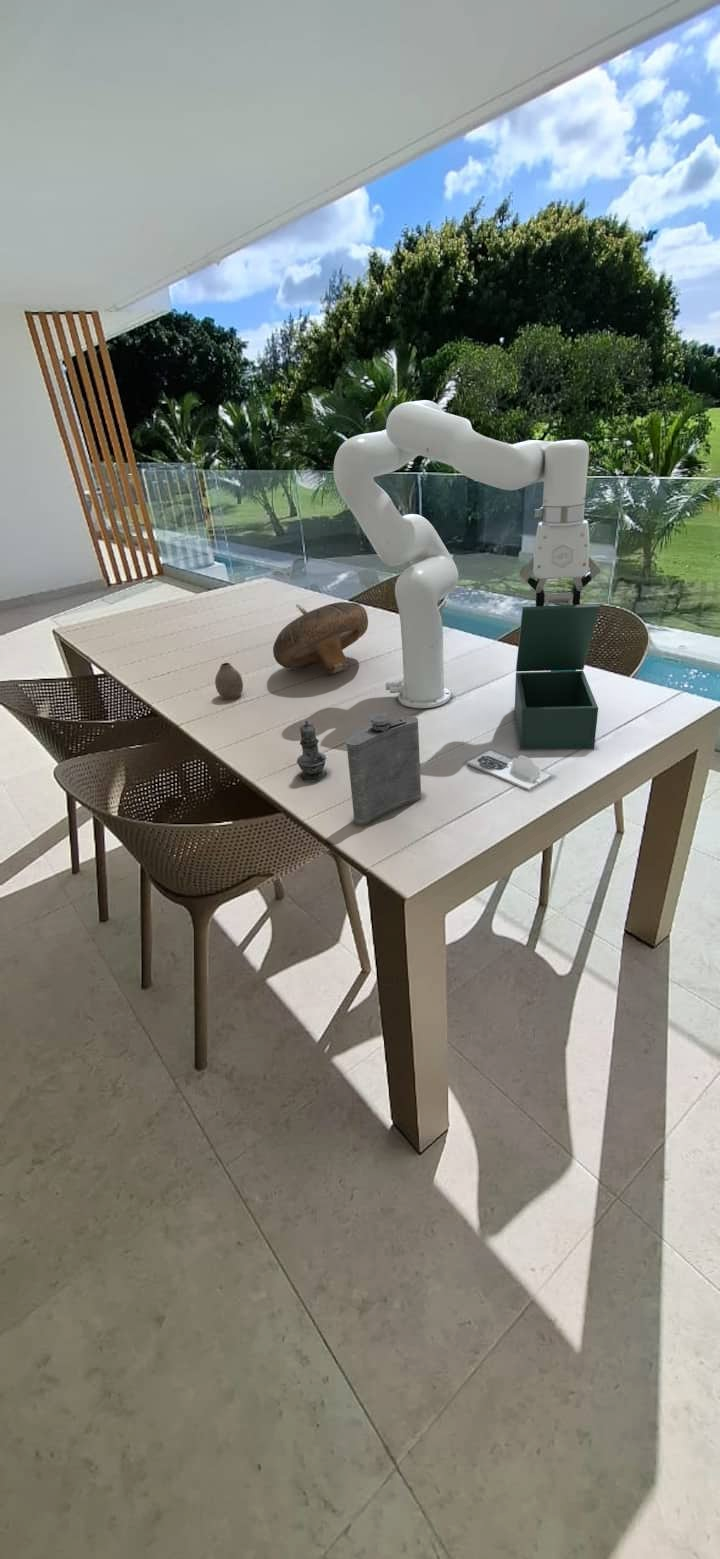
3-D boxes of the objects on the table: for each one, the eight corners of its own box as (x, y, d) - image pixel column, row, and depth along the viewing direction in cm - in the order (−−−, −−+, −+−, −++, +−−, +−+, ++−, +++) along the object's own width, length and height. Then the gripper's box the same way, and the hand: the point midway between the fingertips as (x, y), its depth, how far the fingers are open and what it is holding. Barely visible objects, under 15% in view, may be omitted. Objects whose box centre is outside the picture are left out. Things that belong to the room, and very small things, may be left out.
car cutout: (551, 777, 125) (552, 756, 123) (528, 790, 122) (530, 769, 119) (489, 752, 135) (490, 732, 133) (467, 764, 132) (467, 743, 130)
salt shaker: (298, 769, 136) (291, 715, 130) (327, 766, 136) (321, 712, 130) (298, 783, 131) (290, 728, 125) (328, 780, 131) (322, 725, 125)
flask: (348, 818, 119) (338, 726, 110) (411, 790, 125) (407, 701, 116) (360, 827, 116) (351, 733, 107) (424, 797, 123) (420, 707, 114)
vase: (250, 692, 174) (244, 660, 170) (235, 703, 169) (228, 670, 165) (228, 690, 177) (222, 658, 173) (212, 700, 172) (206, 668, 167)
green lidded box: (594, 748, 133) (598, 707, 129) (520, 749, 135) (522, 709, 131) (579, 707, 150) (583, 670, 146) (514, 709, 152) (515, 672, 148)
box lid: (600, 606, 127) (597, 584, 129) (522, 610, 129) (521, 588, 132) (583, 670, 145) (581, 649, 148) (515, 671, 147) (515, 651, 150)
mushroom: (324, 648, 202) (353, 574, 188) (365, 694, 190) (399, 618, 176) (243, 648, 185) (267, 566, 170) (282, 699, 173) (312, 615, 158)
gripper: (516, 520, 123) (513, 617, 132) (614, 514, 120) (605, 614, 129) (514, 514, 130) (512, 606, 139) (607, 508, 127) (599, 603, 136)
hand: (557, 609), depth 134 cm, fingers closed on box lid, 5 cm apart
